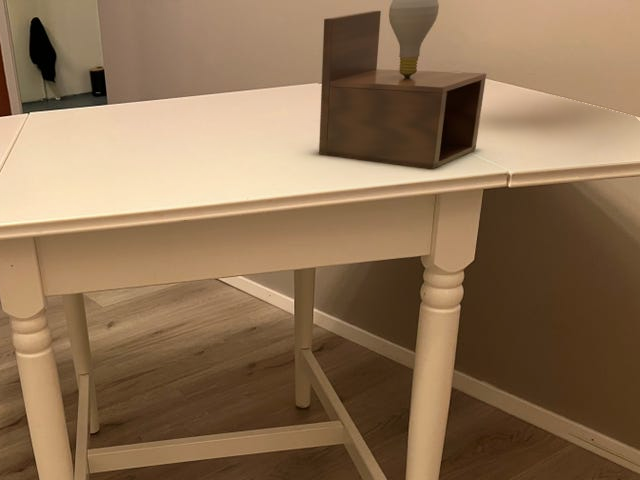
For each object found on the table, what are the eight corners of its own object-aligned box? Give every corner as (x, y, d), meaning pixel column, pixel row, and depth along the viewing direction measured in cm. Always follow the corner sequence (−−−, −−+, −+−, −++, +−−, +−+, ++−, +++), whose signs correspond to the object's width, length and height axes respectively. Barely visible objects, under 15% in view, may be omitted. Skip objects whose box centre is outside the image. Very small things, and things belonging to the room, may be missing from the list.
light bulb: (383, 81, 84) (390, -14, 79) (384, 74, 89) (391, -16, 84) (431, 79, 83) (442, -17, 78) (430, 73, 87) (440, -19, 82)
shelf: (475, 149, 89) (496, 8, 81) (433, 169, 82) (451, 17, 74) (364, 137, 99) (372, 10, 91) (318, 154, 92) (323, 18, 85)
